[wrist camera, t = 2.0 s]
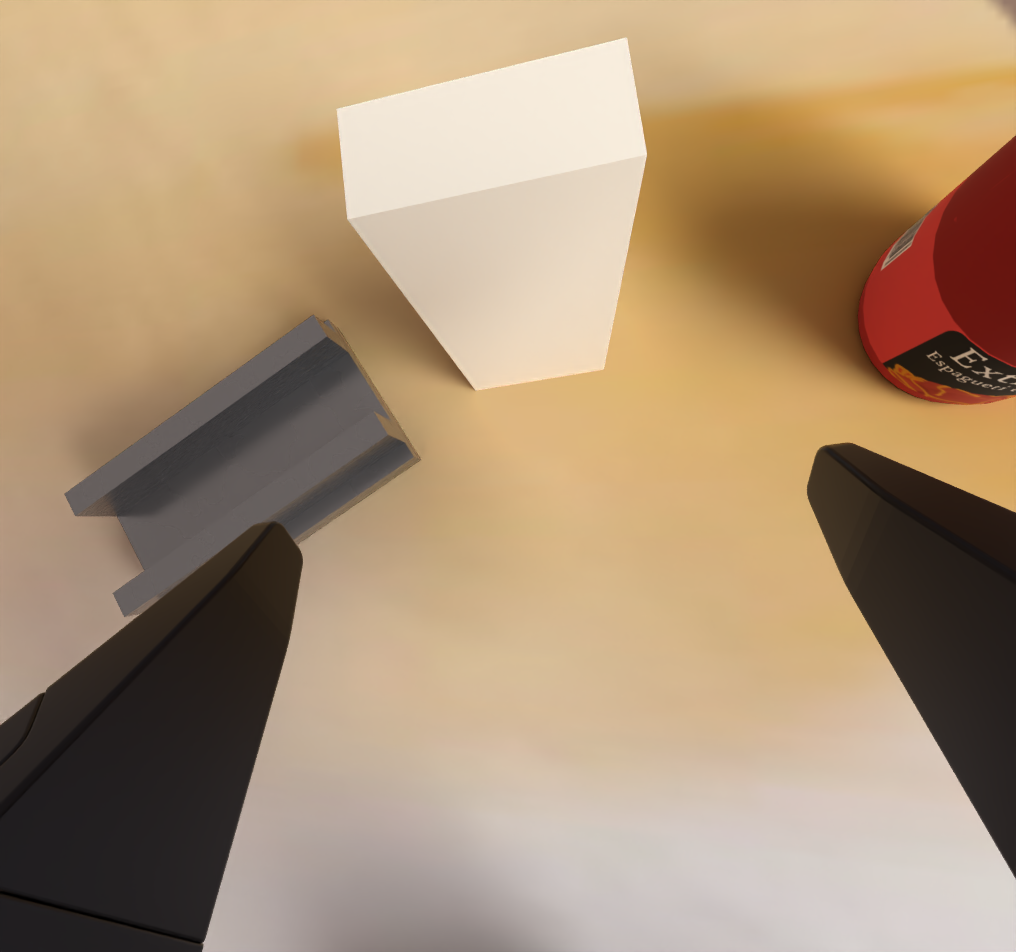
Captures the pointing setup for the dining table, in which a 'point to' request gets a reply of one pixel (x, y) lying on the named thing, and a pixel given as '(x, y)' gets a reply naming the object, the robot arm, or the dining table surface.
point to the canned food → (950, 294)
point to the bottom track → (249, 460)
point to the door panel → (505, 207)
